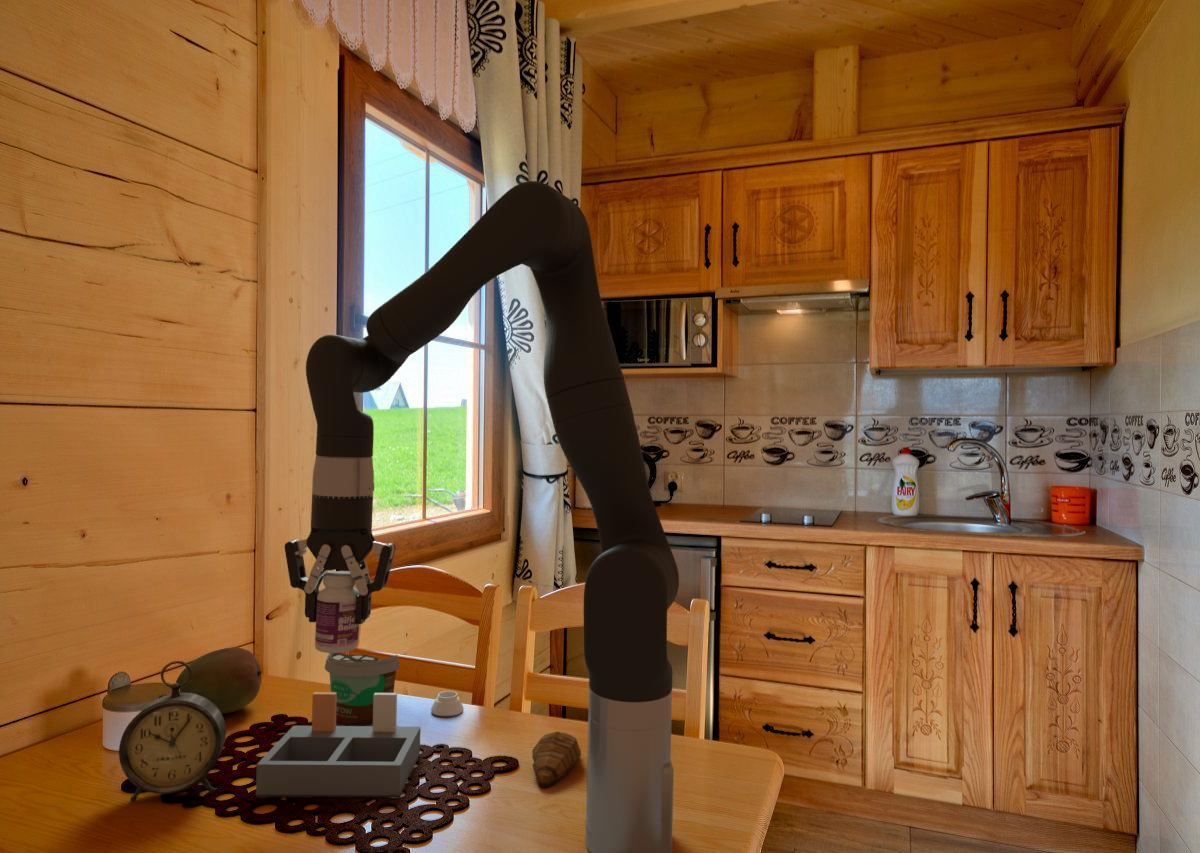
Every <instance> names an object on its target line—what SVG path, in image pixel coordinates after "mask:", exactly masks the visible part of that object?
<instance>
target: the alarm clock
mask: <svg viewBox="0 0 1200 853" xmlns="http://www.w3.org/2000/svg"><path fill="white" fill-rule="evenodd" d="M176 664H179V665H183V666H184V667H185V668H186V667H187V669H188V671H189V677H188V679H187V680H186V682H184V683H183V684H181V685H180V684H179V683H176V682H174V683H172V684H169V683H167V682H166V680H165V678H164V677H165V676H164V675H165V671H166V669H167V668H168V667H170V666H172V665H176ZM191 675H192V671H191V668H190V666H189V664H188V663H186V662H184V661H181V660H174V661H171V662H169V663H167V664H166V665H165V666H164V667H163V668H162V669H161V672H160V679H161V682H162V683H163V684H164V685H165V686H166V687H168V688H170V689H171V693H170V694H166V695H163V696H161V697H159V698H157V699H155V700H153V701H152V702H150V703H149V704H148V705H146V706H145V707H144V708H143V709H141V711H140V712H139V713H138V714H137V715H135V717H133V718H132V720H131V721H130V722H129V723H128V725H127V726H126V728H125V729H124V731H123V733H122V736H121V739H120V741H119V742H120V743H119V748H118V756H119V758H118V759H119V764H120V767H121V769H122V771H123V773H124V775H125V778H127V779H128V780H129V782H131V783H132V784H133V785H134V786H136V787H137V788H136V790H135V792H134V793H133V795H132V796H130V801H131V802H134V801H135V802H136V800H137V798H138V797H139V795H140V794H142V793H143V791H144V792H145V791H146V792H148V793H152V794H159V795H161V794H162V795H167V794H173V793H175V794H176V793H179V792H182V791H185V790H187V789H190V788H191V787H193V786H195V785H196V784H198V783H199V782H200V783H201V785H202V786H203V787H205V788H206V789H207V790H208V793H213V792H214V790H215V788H214V786H212V785H211V783H210V781H209V779H208V778H207V777H206V776H207V775H208V774H209V773H210V771H211V770H212V769H213V767H214V766H215V764H216V763H217V760H218V759H219V756H220V755H221V753H222V751H223V749H224V746H225V743H226V742H225V741H226V737H227V727H226V722H225V719H224V716H223V714H221V712H220V711H219V709H218V708H217V707H216V706H215V705H214V704H213V703H212V702H211V701H210V700H208V699H206V698H205V697H202V696H200V695H197V694H193V693H180V692H179V688H180V687H181V686H184V685H185V684H187V683H188V681H189V680H190V678H191Z"/></svg>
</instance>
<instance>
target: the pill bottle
mask: <svg viewBox="0 0 1200 853" xmlns="http://www.w3.org/2000/svg"><path fill="white" fill-rule="evenodd" d="M322 584H323V586H324V588H321V590H319V591H320V592H319V593H318V595H317V606H316V622H315V632H314V635H315V636H314V638H315V639H314V647H315V649H316V650H317V651H318V652H320V653H327V654H329V653H338V654H343V653H347V652H350V651H353V650H354V649H356V648H358V646H359V642H360V641H359V640H360V638H359V636H360V624H356V601H357V595H359V592H358V589H357V587H354V586H356V583H355V581H354V580H353V579H352V577H351V574H350V571H342V570H338V571H335V570H334V571H328V572H327V573H325V574H324V578H323V581H322Z"/></svg>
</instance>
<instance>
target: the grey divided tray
mask: <svg viewBox="0 0 1200 853" xmlns="http://www.w3.org/2000/svg"><path fill="white" fill-rule="evenodd" d="M311 706H312V708H311V711H312V712H311V713H312V714H311V725H292V726H291V728H290V729H288V731H287V732H286V733H285V734H284V735H283V736H282V737H281V738H280V739H279V740H278V742H277V743H275V744H274V746H273V747H271V749H270V750H268V752H267V753H266V754H265V755H264V756H263V757H262V758H261V759H260V761H258V762H257V763H256V779H255V780H256V781H255V798H312V797H311V796H313V797H314V796H315V797H320V796H321V797H332V796H333V797H344V798H346V797H347V798H346V799H348V798H349V799H350V798H352V797H372V798H371V799H373V798H374V797H375V798H374V799H381V798H380V797H387V798H386V799H400V798H401V796H402V794H403V792H402V791H404V790H403V788H404V786H405V784H406V782H407V783H408V781H409V779H408V777H409V776H410V777H411V775H412V773H413V771H414V769H415V767H416V765H417V763H416V762H418V760H419V758H418V757H420V756H421V726H400V725H399V726H397V720H398V719H397V717H398V714H397V713H398V711H397V709H398V708H397V707H398V692H394V693H375V694H374V697H373V725H369V726H343V725H337V723H336V706H337V692H331V691H326V692H325V691H315V692H313V693H312V704H311ZM419 755H420V756H419ZM415 764H416V765H415ZM414 766H415V767H414ZM413 768H414V769H413ZM412 770H413V771H412ZM411 772H412V773H411ZM410 774H411V775H410ZM410 777H409V778H410ZM407 780H408V781H407ZM406 785H407V784H406ZM405 787H406V786H405ZM404 789H405V788H404ZM377 797H379V798H377ZM352 799H353V798H352Z"/></svg>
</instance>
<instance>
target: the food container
mask: <svg viewBox="0 0 1200 853" xmlns="http://www.w3.org/2000/svg"><path fill="white" fill-rule="evenodd" d="M324 669H325V672H327V673H329V684H330V692H337V706H336V725H339V726H343V725H344V726H368V725H369V726H373V697H374V694H375V693H395V684H396V683H395V682H396V676H397V670H401V665H400V660H399V657H398V654H396V655H394V656H391V657H386V658H379V657H377V656H372V655H369V654H346V653H328V655H327V657H326V659H325V664H324Z"/></svg>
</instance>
